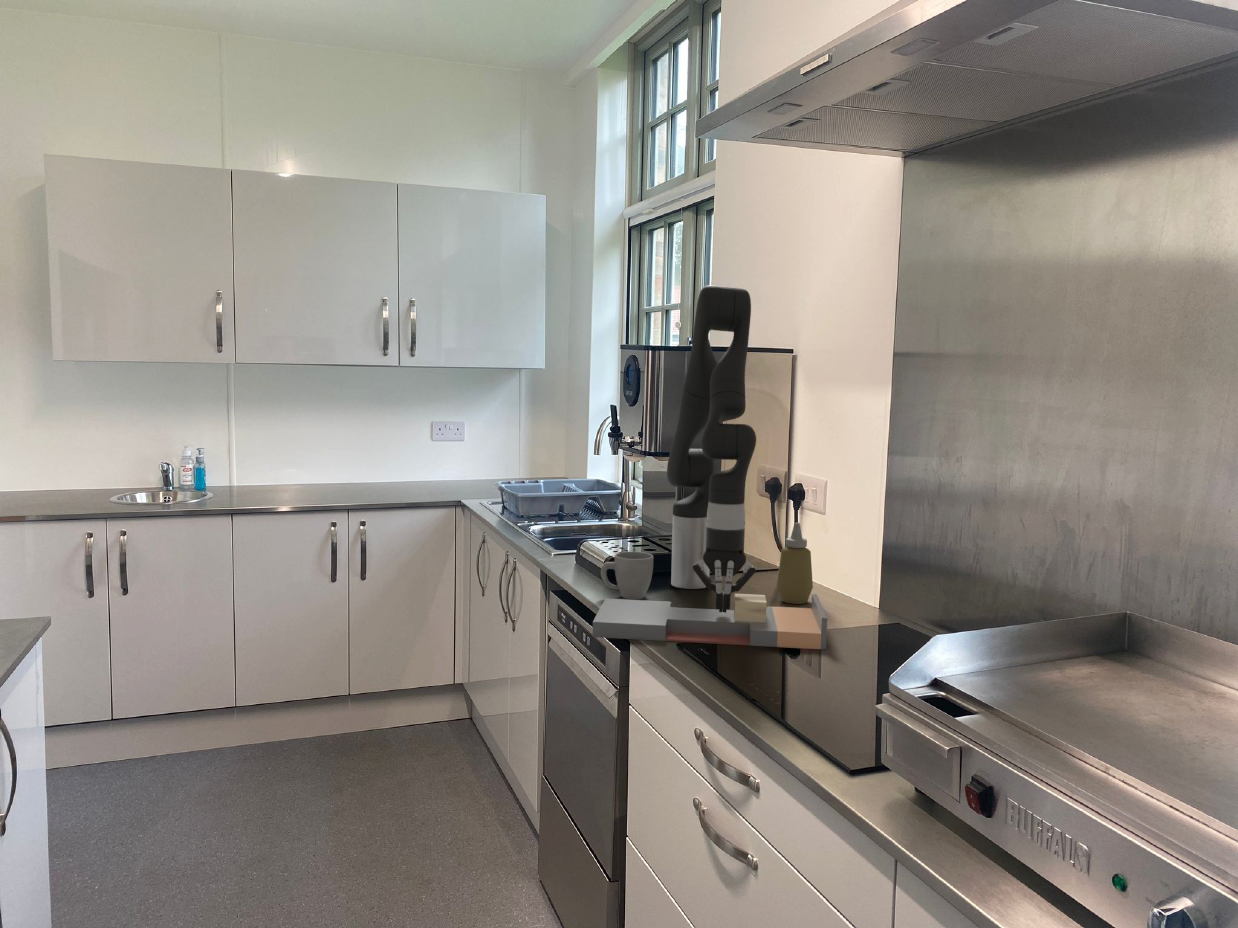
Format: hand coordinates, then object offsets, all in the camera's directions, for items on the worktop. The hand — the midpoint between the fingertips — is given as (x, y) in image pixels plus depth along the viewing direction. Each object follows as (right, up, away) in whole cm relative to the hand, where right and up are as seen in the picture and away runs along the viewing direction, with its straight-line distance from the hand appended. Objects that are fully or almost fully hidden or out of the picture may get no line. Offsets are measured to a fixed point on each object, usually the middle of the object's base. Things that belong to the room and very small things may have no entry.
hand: (722, 611), depth 170 cm
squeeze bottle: (+19, -2, +25) cm, 31 cm away
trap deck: (-3, -4, +1) cm, 5 cm away
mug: (-19, -1, +26) cm, 32 cm away
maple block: (+5, -1, -1) cm, 5 cm away
